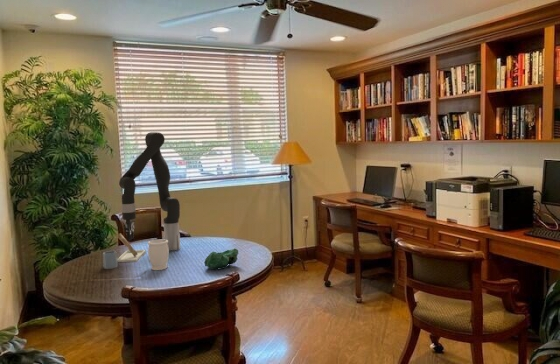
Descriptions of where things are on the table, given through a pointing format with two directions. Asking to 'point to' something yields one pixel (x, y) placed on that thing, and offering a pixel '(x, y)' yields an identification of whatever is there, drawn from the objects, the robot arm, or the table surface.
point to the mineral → (221, 259)
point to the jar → (158, 254)
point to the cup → (110, 259)
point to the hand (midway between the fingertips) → (130, 239)
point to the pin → (127, 245)
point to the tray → (131, 256)
